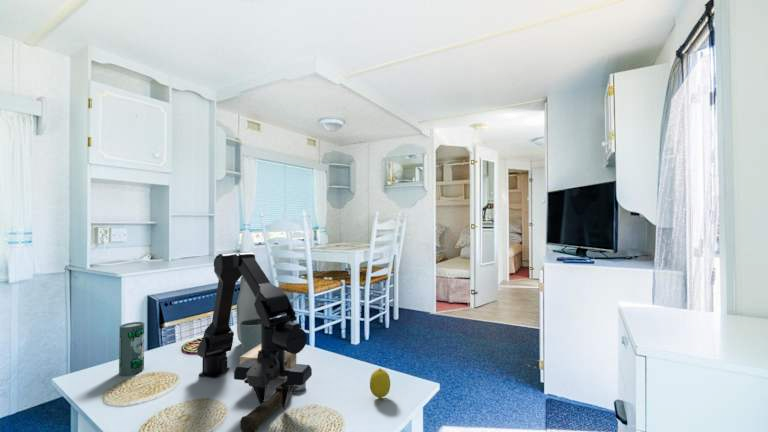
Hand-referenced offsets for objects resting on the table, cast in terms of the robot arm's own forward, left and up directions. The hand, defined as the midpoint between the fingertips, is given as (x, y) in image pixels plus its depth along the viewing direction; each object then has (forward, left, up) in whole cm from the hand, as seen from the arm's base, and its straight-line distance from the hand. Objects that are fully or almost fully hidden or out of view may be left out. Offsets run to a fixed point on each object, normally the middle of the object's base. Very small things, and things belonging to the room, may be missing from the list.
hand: (273, 406), depth 86 cm
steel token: (+1, +11, -1) cm, 12 cm away
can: (-57, +12, -1) cm, 58 cm away
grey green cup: (-26, +32, -1) cm, 41 cm away
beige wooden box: (-9, +14, -1) cm, 17 cm away
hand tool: (-1, -1, -1) cm, 2 cm away
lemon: (+25, +10, -1) cm, 28 cm away
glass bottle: (-34, +42, -1) cm, 54 cm away
